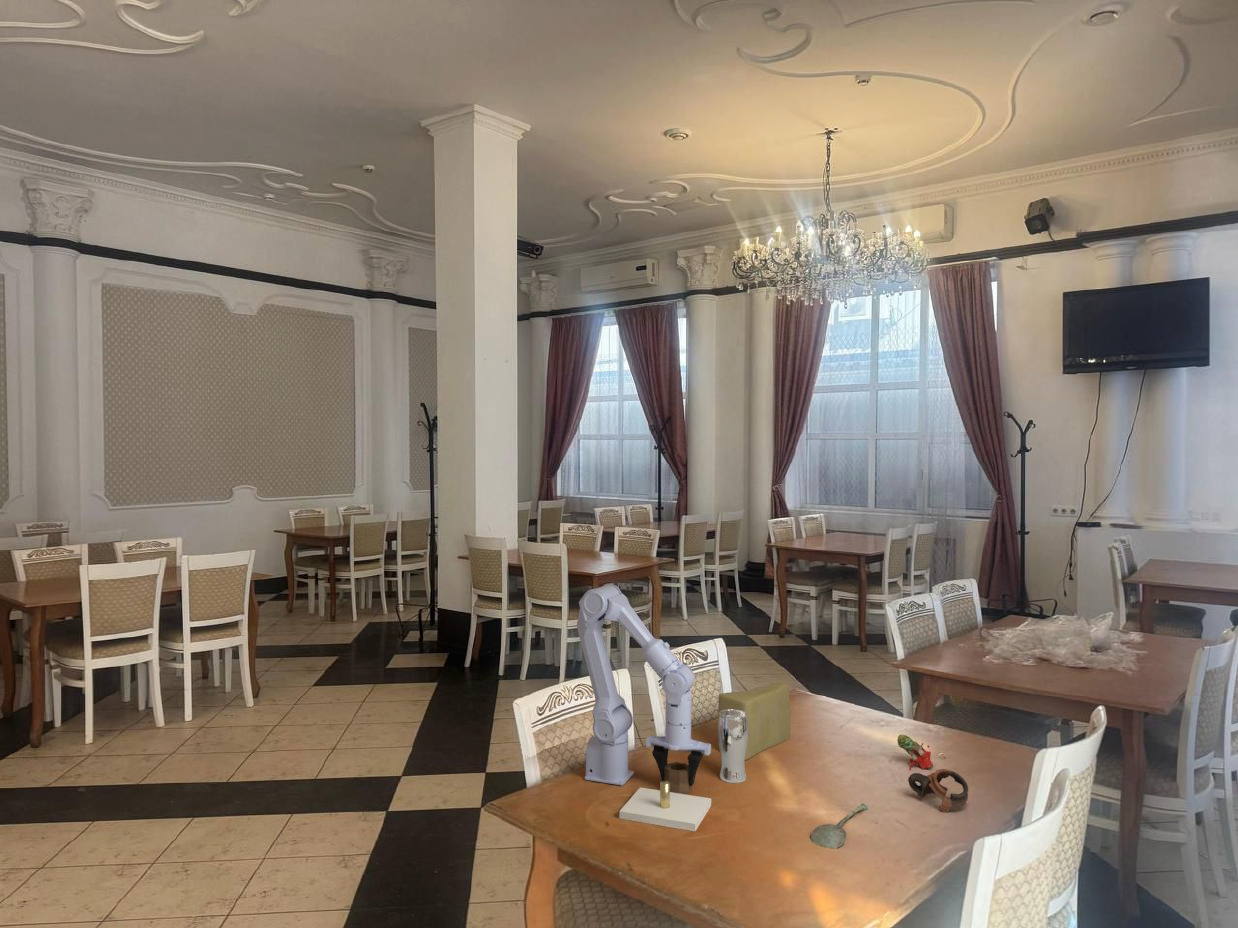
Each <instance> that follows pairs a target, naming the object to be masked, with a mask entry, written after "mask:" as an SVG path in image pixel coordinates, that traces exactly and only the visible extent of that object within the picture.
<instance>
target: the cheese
mask: <svg viewBox="0 0 1238 928" xmlns="http://www.w3.org/2000/svg"><path fill="white" fill-rule="evenodd" d="M789 687H790V686H789V684H788V683H785V682H774V683H771V684H768V685H763V686H759V687H756V688H752V689H747V690H742V691H731V692H723V693H719V695H718V708H717V710H718V712H717V713H718V714H717V715H718V718H717V719H718V721H717V722H719V712H720V711H722V710H726V709H736V710H742V711H744V712H746V713H747V714H748V743H747V749H746V754H745V761H747V760H749V759H751V758H752V757H755V756H756V755H757V754H760V753H761V752H763V751H765V750H767V749H770V748H771V747H775V746H777V745H779V744H783V742H786V741H788V740H789V739H790V738H791V704H790V690H789V689H790V688H789ZM718 750H719V751H720V746H719V745H718Z"/></svg>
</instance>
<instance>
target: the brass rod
mask: <svg viewBox="0 0 1238 928" xmlns="http://www.w3.org/2000/svg"><path fill="white" fill-rule="evenodd" d="M659 789H660V807H661V808H663V809H667V808H669V807H670V782H669V781H662V780H661V781H660V782H659Z"/></svg>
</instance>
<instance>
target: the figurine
mask: <svg viewBox="0 0 1238 928" xmlns="http://www.w3.org/2000/svg"><path fill="white" fill-rule="evenodd" d="M896 741H897V746H898V747H899V748H900V749H903V750H904V751H905V752H906V753H907V754H908V755H910V759H909V762H910V764H909V765H908V766H909V771H912V768H911V767H914V766H915V765H918V766H919V767H920V768H921V770H922V771H923V770H926V769H929V768H931V767H933V766H934V764H933V762H932V761H931V756H932V751H927V750H926V749H925V748H924V747H923V745H924V742H922V743H921V744H919V743H918V742H917V741H916V740H913V739H912V738H911V737H910V736H908V735H906V734H898V737H897V740H896ZM926 747H927V748H928V749H929V748H930V745H929V744H928V745H927V746H926Z"/></svg>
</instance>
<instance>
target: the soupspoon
mask: <svg viewBox="0 0 1238 928" xmlns="http://www.w3.org/2000/svg"><path fill="white" fill-rule="evenodd" d="M863 811H869V806H868V804H867V803H865V802H862V803H861V804H860V806H857V807H856V808H855V809H854V810H851V812H849V813H848V814H847V815H846V816H844V817H843V818H842V819H841V820H839V822H837V824H832V823H831V824H830V823H826V824H821V825H818V826H816V827H815V828H814V829H812V832H811V833H810V840H811V842H812V844H815V845H816V846H818V847H821V848H825V849H831V850H837V849H840V848H841V847H842V846H843V844H844V843H845V841H846V839H847V832H846V829H844V828H842V826H843V824H845V823H846V822H847V821H848V820H849V819H850V818H851V817H852V816H854V815H855V814H857V813H858V812H863Z"/></svg>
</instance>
